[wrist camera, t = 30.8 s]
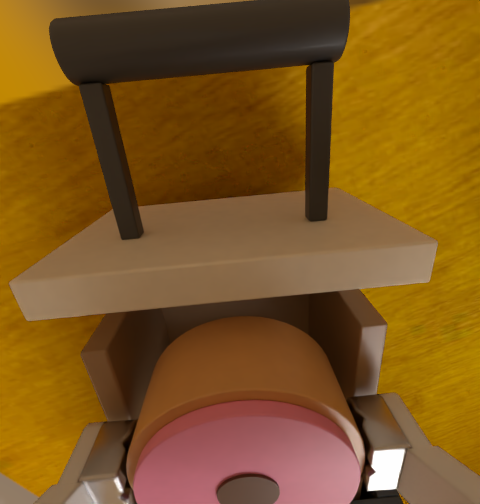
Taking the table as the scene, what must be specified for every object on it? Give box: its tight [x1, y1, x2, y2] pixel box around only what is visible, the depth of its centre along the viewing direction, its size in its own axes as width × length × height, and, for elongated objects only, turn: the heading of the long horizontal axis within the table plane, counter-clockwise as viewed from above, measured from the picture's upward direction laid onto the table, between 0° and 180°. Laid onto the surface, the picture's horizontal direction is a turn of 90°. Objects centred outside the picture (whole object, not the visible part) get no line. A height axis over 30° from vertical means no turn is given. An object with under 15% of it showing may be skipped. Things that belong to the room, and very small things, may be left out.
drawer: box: [9, 0, 438, 501], centre depth 12 cm, size 19×11×7 cm, turn 5°
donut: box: [126, 316, 365, 504], centre depth 9 cm, size 6×6×3 cm
